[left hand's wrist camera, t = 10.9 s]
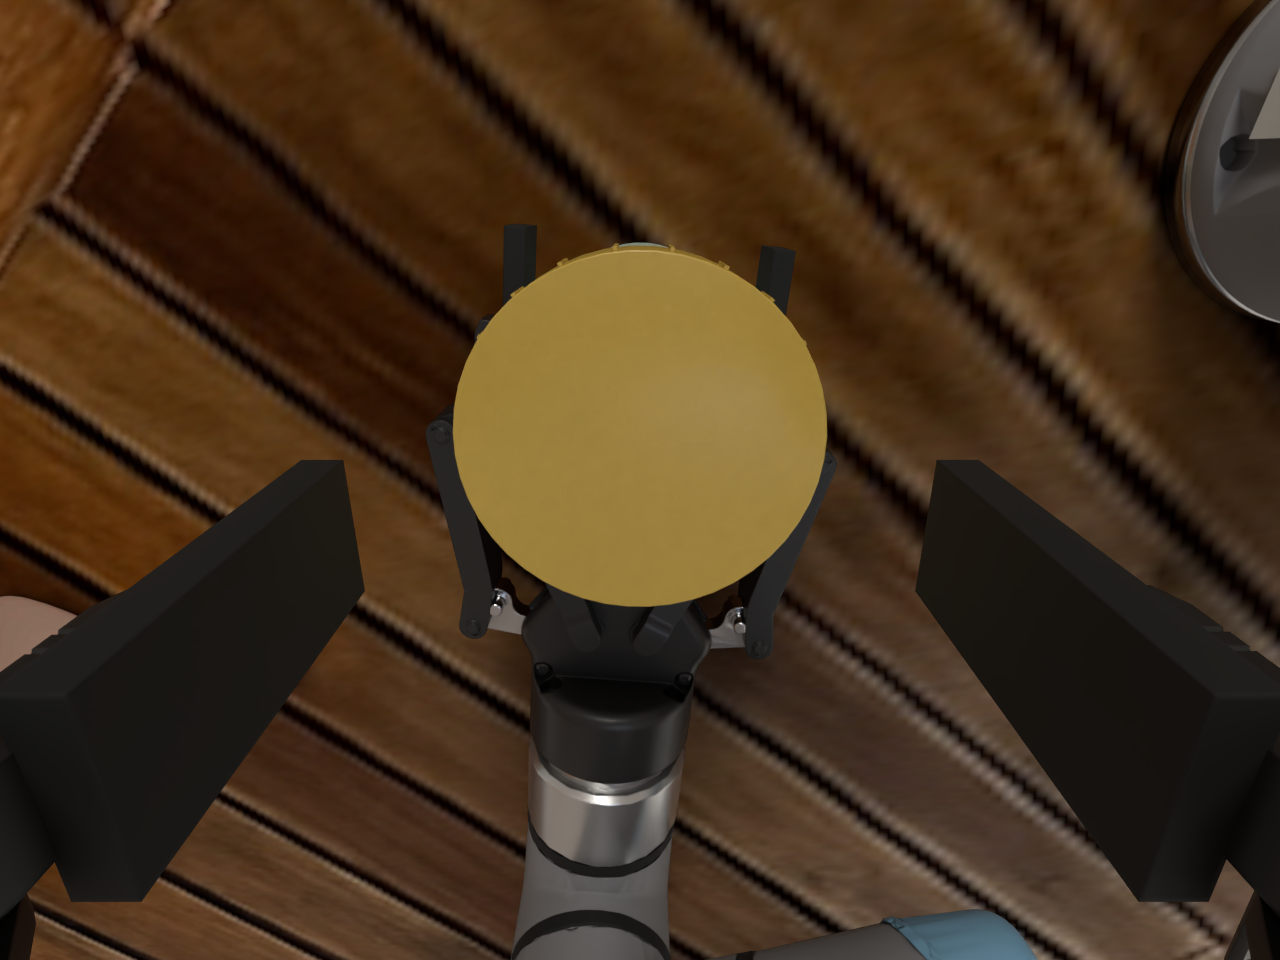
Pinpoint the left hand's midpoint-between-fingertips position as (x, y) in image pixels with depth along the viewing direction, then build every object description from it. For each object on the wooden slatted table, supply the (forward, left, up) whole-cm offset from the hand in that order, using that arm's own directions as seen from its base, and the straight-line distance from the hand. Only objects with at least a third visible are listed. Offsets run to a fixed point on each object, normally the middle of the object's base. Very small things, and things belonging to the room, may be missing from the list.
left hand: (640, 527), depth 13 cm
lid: (0, 0, -5) cm, 5 cm away
